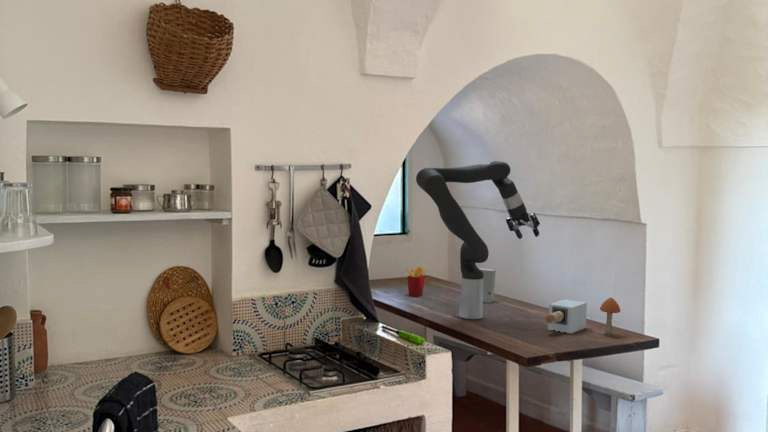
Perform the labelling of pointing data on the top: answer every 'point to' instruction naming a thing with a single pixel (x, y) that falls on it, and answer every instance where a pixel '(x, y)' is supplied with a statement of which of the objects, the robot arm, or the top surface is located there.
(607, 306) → the mushroom
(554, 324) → the block
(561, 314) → the peg
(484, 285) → the skincare box
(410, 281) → the french fries
